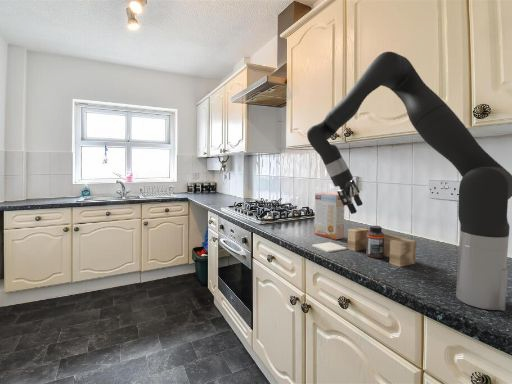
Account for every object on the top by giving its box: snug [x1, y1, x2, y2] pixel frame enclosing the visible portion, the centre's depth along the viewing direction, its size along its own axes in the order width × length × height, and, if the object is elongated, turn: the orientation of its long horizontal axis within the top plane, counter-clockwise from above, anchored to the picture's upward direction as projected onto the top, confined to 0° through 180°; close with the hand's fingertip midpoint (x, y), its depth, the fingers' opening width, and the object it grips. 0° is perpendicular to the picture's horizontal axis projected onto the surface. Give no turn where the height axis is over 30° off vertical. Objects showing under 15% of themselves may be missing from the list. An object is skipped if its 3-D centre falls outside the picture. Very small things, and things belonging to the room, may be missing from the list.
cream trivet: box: [311, 241, 347, 253], centre depth 117 cm, size 10×10×1 cm
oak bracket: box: [346, 227, 417, 268], centre depth 106 cm, size 8×24×8 cm, turn 26°
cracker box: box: [314, 192, 345, 241], centre depth 135 cm, size 14×6×21 cm, turn 32°
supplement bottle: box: [365, 225, 384, 259], centre depth 105 cm, size 6×6×11 cm
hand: (357, 209), depth 109 cm, fingers open, 8 cm apart
